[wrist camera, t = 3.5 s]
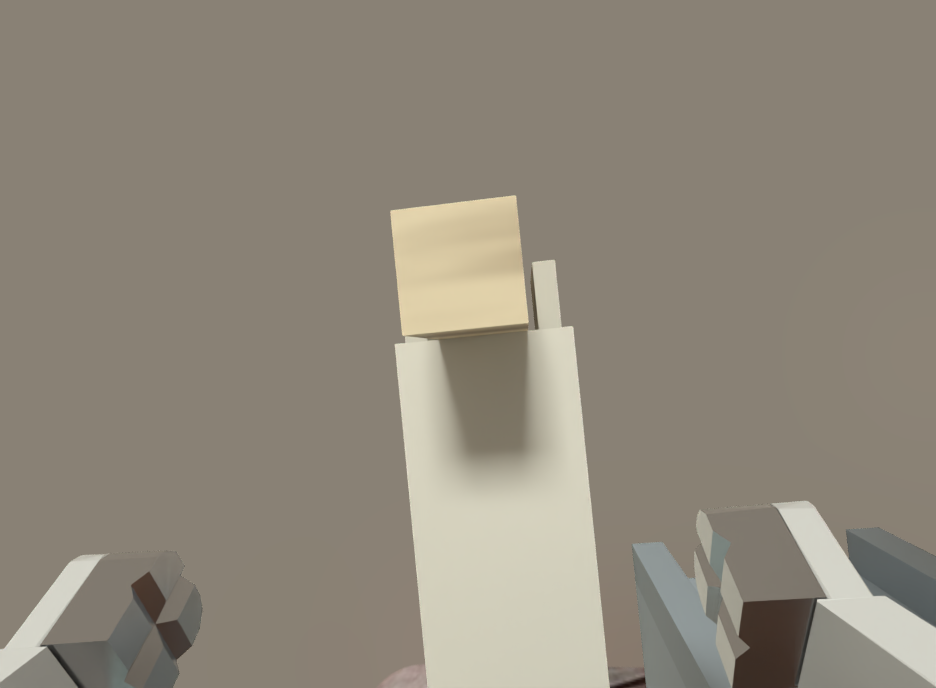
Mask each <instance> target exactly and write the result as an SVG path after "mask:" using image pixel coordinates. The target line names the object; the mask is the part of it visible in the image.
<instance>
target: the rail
mask: <svg viewBox="0 0 936 688" xmlns="http://www.w3.org/2000/svg"><path fill="white" fill-rule="evenodd" d="M390 212H391V222H392V232H393V244H394V254H395V264H396V274H397V285H398V296H399V306H400V316H401V327H402V336H409V337H418V338H427V339H436V340H441V339H451V338H461V337H471V336H481V335H491V334H501V333H511V332H521V331H528V324H529V322H528V312H527V302H526V292H525V282H524V272H523V262H522V252H521V242H520V232H519V222H518V212H517V202H516V196H507V197H499V198H490V199H482V200H474V201H466V202H458V203H449V204H442V205H433V206H425V207H417V208H408V209H400V210H392V211H390Z"/></svg>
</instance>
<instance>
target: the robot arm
mask: <svg viewBox="0 0 936 688" xmlns="http://www.w3.org/2000/svg"><path fill="white" fill-rule="evenodd" d="M696 530H697V533H698V535H699V538H700V540H701V544H700V545H699V546H698V547H697V548H696V549H695V553H694V555H695V556H694V569H695V577H696V585H697V589H698V593H699V597H700V600H701V603H702V606H703V609H704V612H705V615H706V616H707V617H708V618H709V619H710V620H712V621H713V622H714V623H715V624H716V625H717V633H716V647H717V649H718V652H719V655H720V658H721V660H722V663H723V666H724V669H725V671H726V674H727V677H728V680H729V683H730V685H731V688H936V628H935V627H934V626H932V625H931V624H929V623H927V622H926V621H924V620H923V619H921V618H920V617H918V616H916V615H915V614H913V613H912V612H910V611H909V610H907V609H905V608H904V607H902V606H901V605H899V604H898V603H896V602H894V601H893V600H891V599H890V598H888V597H887V596H873V595H872V593H871V592H870V590H869V589H868V587H867V586H866V584H865V583H864V581H863V580H862V578H861V577H860V575H859V574H858V572H857V570H856V569H855V567H854V566H853V564H852V563H851V561H850V560H849V558H848V557H847V556H846V554H845V552H844V551H843V549H842V548H841V546H840V545H839V543H838V542H837V540H836V538H835V537H834V536H833V534H832V532H831V531H830V529H829V528H828V526H827V525H826V523H825V522H824V520H823V519H822V517H821V516H820V514H819V512H818V511H817V509H816V508H815V506H814V505H812V504H811V503H809V502H808V501H798V502H787V503H774V504H770V505H768V504H761V505H749V506H738V507H726V508H714V509H703V510H699V513H698V515H697V523H696ZM184 567H185V565H184V563H183V562H182V560H181V558H180V557H179V555H178V554H177V552H176V551H147V552H128V553H110V554H95V555H81V556H79V557H78V558H76V559H74V560H73V561H71V562H69V564H68V565H67V567H66V568H65V569H64V570H63V572H62V573H61V574H60V576H59V577H58V578H57V580H56V581H55V582H54V584H53V585H52V586H51V588H50V589H49V590H48V592H47V593H46V594H45V596H44V597H43V598H42V600H41V601H40V602H39V604H38V605H37V606H36V608H35V609H34V610H33V612H32V613H31V614H30V615H29V617H28V618H27V619H26V621H25V622H24V623H23V625H22V626H21V627H20V629H19V630H18V631H17V633H16V634H15V635H14V637H13V638H12V639H11V641H10V642H9V643H8V645H7V646H6V647H5V648H4V649H0V688H173V686H174V684H175V681H176V680H177V678H178V675H179V669H178V665H177V659H178V658H179V657H180V656H181V655H183V654H184V653H185V652H186V651H187V650H188V649H189V648H190V647H191V646H192V645H193V643H194V640H195V638H196V636H197V633H198V631H199V629H200V623H201V616H202V603H201V597H200V594H199V592H198V590H197V588H196V586H195V584H193V583H191V582H190V581H188V580H187V579H185V578H184V577H182V576H181V574H182V571H183V569H184Z"/></svg>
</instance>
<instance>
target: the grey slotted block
mask: <svg viewBox="0 0 936 688" xmlns="http://www.w3.org/2000/svg"><path fill="white" fill-rule="evenodd" d="M846 534H847V543H848V552H849V560H850V561H851V563H852V564H853V566H854V567H855V569H856V570H857V572H858V574H859V575H860V577H861V578H862V580H863V581H864V583H865V584H866V586H867V587H868V589H869V590H870V592H871V593H872V595H873V596H887V597H888V598H890V599H891V600H893V601H894V602H896V603H898V604H899V605H901V606H902V607H904V608H905V609H907V610H909V611H910V612H912V613H913V614H915V615H916V616H918V617H920V618H921V619H923V620H924V621H926V622H927V623H929V624H931V625H932V626H934V627H935V628H936V556H934V555H932V554H930V553H928V552H926V551H924V550H922V549H920V548H918V547H916V546H914V545H912V544H910V543H908V542H906V541H904V540H902V539H900V538H898V537H896V536H894V535H893V534H891V533H889V532H887V531H884V530H883V529H880V528H863V529H848V530H846ZM632 550H633V561H634V570H635V581H636V589H637V600H638V610H639V619H640V629H641V639H642V648H643V658H644V668H645V678H646V688H731V685H730V683H729V680H728V677H727V674H726V671H725V669H724V666H723V663H722V660H721V658H720V655H719V652H718V649H717V647H716V633H717V625H716V624H715V623H714V622H713V621H712V620H710V619H709V618H708V617H707V616H706V615H705V612H704V609H703V606H702V603H701V600H700V597H699V593H698V589H697V585H696V578H687V576H686V575H685V573H684V572H683V570H682V569H681V568H680V566H679V565H678V563H677V562H676V561H675V559H674V558H673V556H672V555H671V554H670V552H669V551H668V549H667V548H666V547H665V545H664V544H663V542H654V543H639V544H632Z"/></svg>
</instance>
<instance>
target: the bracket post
mask: <svg viewBox="0 0 936 688" xmlns="http://www.w3.org/2000/svg"><path fill="white" fill-rule="evenodd" d="M531 291H532V302H533V311H534V321H535V330H531V331H521V332H511V333H501V334H491V335H481V336H471V337H461V338H451V339H441V340H436V339H427V338H418V337H409V336H405V341H406V343H402V344H395V351H396V362H397V372H398V383H399V393H400V402H401V403H400V404H401V414H402V424H403V435H404V445H405V456H406V466H407V477H408V487H409V497H410V508H411V518H412V529H413V539H414V550H415V560H416V570H417V581H418V591H419V601H420V611H421V622H422V633H423V643H424V653H425V664H426V675H427V685H428V688H610V687H609V677H608V667H607V657H606V649H605V637H604V629H603V618H602V609H601V598H600V588H599V579H598V569H597V559H596V550H595V549H596V548H595V540H594V529H593V519H592V510H591V500H590V490H589V479H588V469H587V460H586V450H585V440H584V430H583V420H582V411H581V400H580V391H579V381H578V371H577V362H576V352H575V341H574V331H573V326H571V327H561V317H560V307H559V297H558V287H557V277H556V267H555V260H548V261H539V262H532V270H531Z"/></svg>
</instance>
